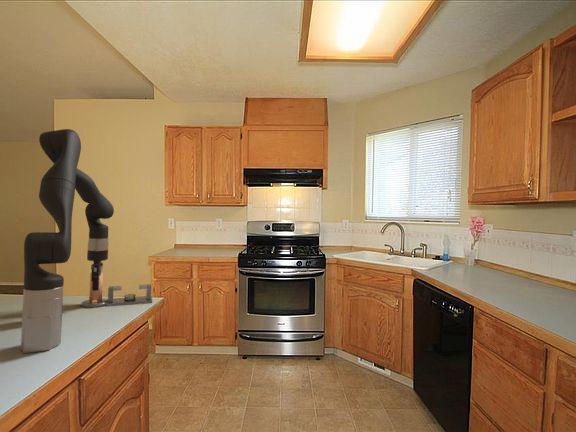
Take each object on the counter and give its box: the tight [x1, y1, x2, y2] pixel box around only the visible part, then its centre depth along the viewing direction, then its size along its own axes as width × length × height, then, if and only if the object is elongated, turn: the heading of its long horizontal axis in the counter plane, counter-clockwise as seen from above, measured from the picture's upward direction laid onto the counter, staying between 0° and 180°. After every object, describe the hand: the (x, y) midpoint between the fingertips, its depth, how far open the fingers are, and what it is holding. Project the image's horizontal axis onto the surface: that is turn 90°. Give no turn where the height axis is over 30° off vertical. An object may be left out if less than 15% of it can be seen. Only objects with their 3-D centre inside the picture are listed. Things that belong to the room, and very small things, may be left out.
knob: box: [88, 271, 104, 305], centre depth 132 cm, size 5×9×12 cm, turn 26°
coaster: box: [81, 297, 108, 309], centre depth 132 cm, size 10×10×1 cm
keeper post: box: [105, 283, 153, 307], centre depth 137 cm, size 8×18×7 cm, turn 116°
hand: (96, 288), depth 131 cm, fingers open, 5 cm apart
